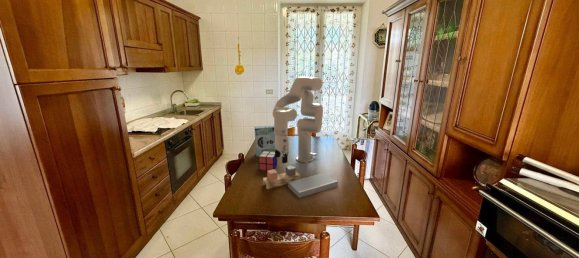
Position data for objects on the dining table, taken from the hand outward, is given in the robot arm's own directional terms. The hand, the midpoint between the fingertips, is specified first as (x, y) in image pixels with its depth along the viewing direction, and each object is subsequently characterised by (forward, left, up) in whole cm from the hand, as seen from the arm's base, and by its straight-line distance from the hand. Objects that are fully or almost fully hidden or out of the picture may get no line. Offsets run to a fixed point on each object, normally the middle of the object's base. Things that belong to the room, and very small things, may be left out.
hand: (281, 159), depth 137 cm
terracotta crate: (+6, 0, -11) cm, 12 cm away
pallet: (-1, 0, -15) cm, 15 cm away
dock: (-14, +13, -15) cm, 24 cm away
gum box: (-10, -45, -15) cm, 49 cm away
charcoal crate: (-7, 0, -11) cm, 13 cm away
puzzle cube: (-1, -23, -15) cm, 28 cm away
